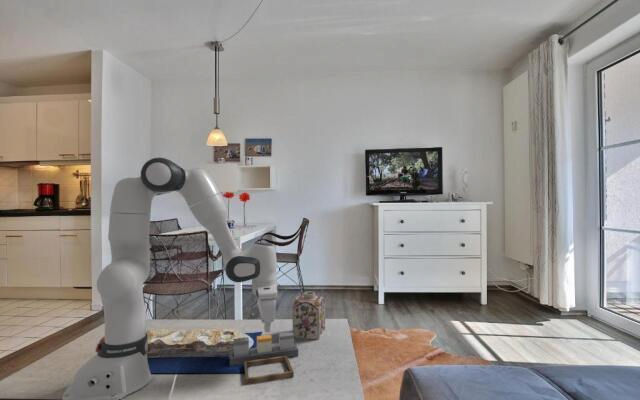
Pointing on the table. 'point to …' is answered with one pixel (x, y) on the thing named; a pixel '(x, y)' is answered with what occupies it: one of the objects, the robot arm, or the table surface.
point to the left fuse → (241, 346)
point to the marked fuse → (264, 344)
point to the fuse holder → (262, 355)
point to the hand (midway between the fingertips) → (265, 326)
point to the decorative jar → (309, 316)
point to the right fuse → (286, 341)
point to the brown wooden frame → (271, 376)
